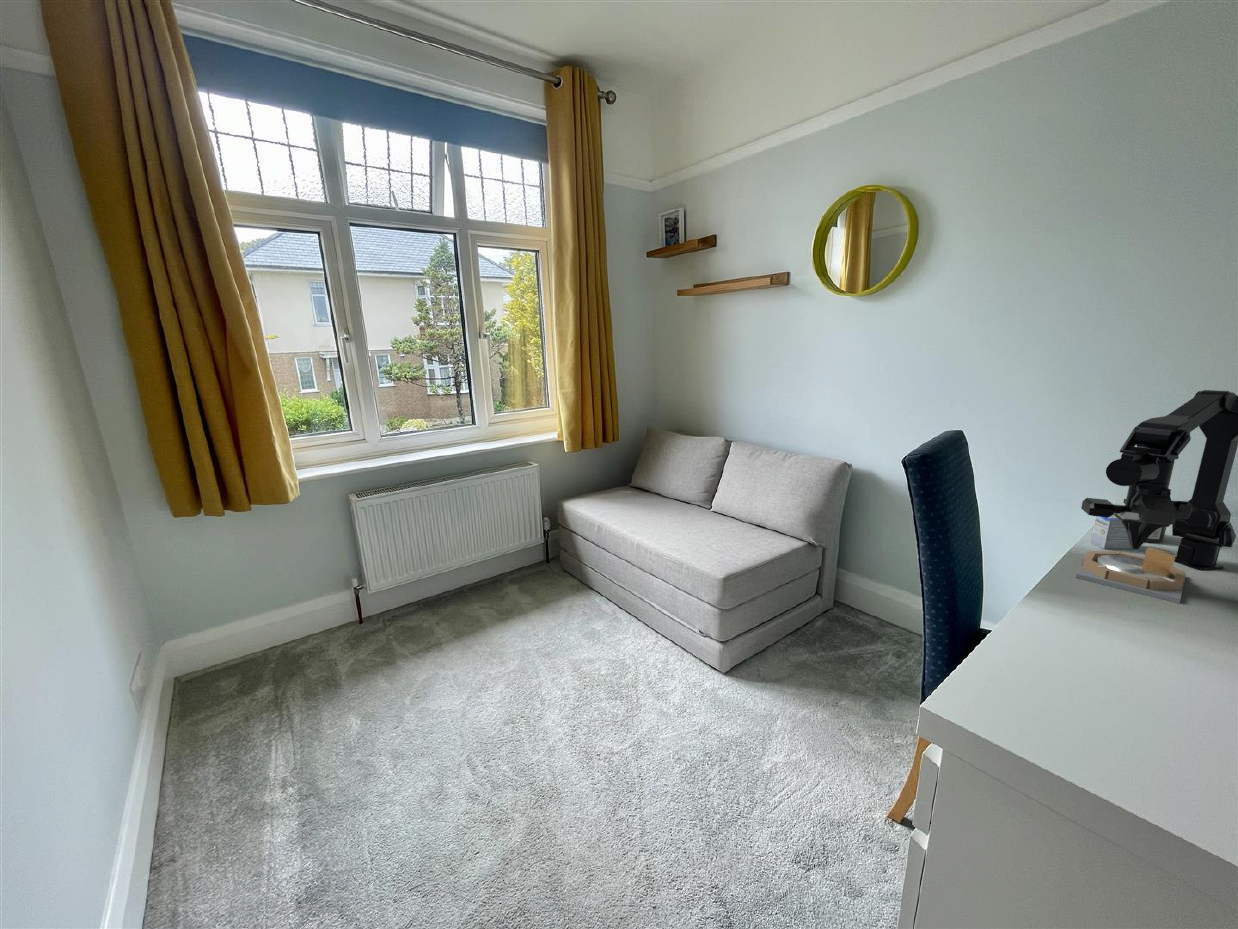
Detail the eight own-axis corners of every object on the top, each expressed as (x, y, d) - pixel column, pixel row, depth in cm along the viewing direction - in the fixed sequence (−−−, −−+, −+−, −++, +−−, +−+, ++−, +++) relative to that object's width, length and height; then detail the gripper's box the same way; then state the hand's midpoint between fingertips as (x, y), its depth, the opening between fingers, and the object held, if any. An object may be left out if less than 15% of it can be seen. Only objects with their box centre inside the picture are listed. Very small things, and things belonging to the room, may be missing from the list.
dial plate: (1089, 556, 124) (1092, 544, 124) (1184, 576, 112) (1187, 564, 111) (1076, 577, 113) (1078, 565, 113) (1179, 603, 101) (1182, 589, 100)
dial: (1085, 567, 116) (1090, 540, 114) (1112, 558, 120) (1118, 532, 118) (1153, 588, 105) (1160, 559, 103) (1180, 577, 109) (1187, 550, 108)
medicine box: (1121, 543, 131) (1128, 512, 130) (1136, 550, 127) (1144, 518, 125) (1089, 543, 132) (1095, 512, 130) (1103, 549, 128) (1110, 518, 126)
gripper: (1105, 485, 102) (1090, 554, 106) (1236, 495, 93) (1216, 570, 97) (1087, 473, 112) (1074, 537, 115) (1204, 481, 103) (1187, 550, 106)
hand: (1134, 548), depth 108 cm, fingers closed
